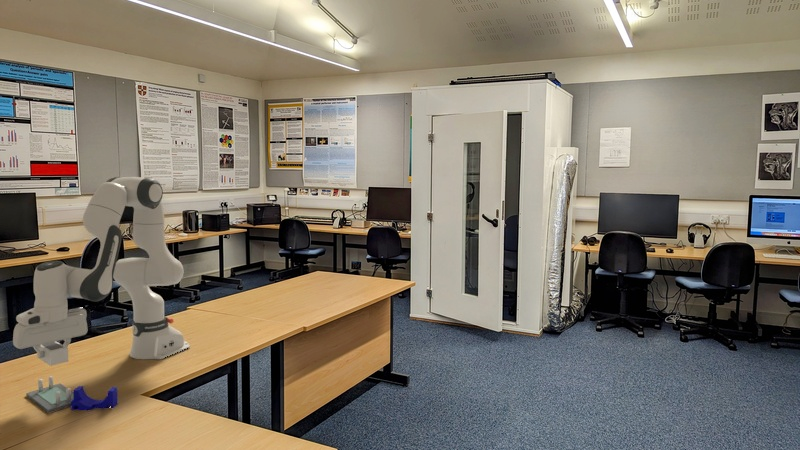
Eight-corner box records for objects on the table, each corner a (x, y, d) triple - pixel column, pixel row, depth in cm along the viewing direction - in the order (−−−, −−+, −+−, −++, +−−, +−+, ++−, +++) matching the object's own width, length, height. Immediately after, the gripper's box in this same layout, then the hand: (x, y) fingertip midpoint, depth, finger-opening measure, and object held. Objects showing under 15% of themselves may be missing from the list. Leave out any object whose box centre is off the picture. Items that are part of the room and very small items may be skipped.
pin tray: (60, 386, 180) (59, 372, 179) (83, 401, 170) (82, 387, 169) (26, 396, 172) (25, 381, 171) (48, 413, 162) (47, 397, 161)
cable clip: (71, 410, 164) (70, 392, 164) (79, 403, 169) (78, 386, 168) (110, 411, 165) (110, 393, 164) (117, 404, 170) (117, 387, 169)
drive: (54, 353, 174) (54, 340, 173) (68, 361, 168) (67, 347, 167) (37, 357, 169) (37, 343, 169) (50, 365, 164) (50, 351, 163)
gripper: (81, 304, 177) (82, 344, 179) (10, 317, 160) (11, 360, 162) (90, 308, 173) (91, 348, 175) (18, 321, 157) (19, 366, 159)
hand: (52, 354), depth 168 cm, fingers closed on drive, 5 cm apart
